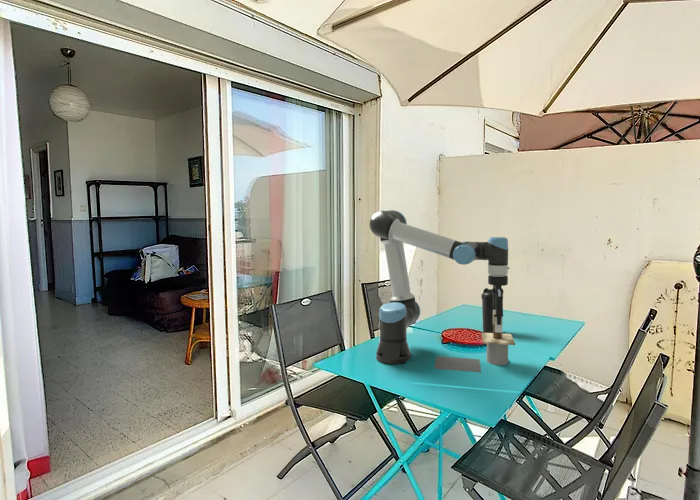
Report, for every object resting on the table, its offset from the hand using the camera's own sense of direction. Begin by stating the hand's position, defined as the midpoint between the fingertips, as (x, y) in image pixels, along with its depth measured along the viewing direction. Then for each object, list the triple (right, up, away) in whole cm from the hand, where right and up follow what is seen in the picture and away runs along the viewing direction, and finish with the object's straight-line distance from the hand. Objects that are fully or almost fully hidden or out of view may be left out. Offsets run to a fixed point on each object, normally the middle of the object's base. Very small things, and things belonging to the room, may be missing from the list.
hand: (497, 328), depth 164 cm
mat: (-17, -15, 0) cm, 22 cm away
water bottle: (+12, -11, +41) cm, 45 cm away
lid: (0, -5, 0) cm, 5 cm away
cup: (0, -15, +1) cm, 15 cm away
